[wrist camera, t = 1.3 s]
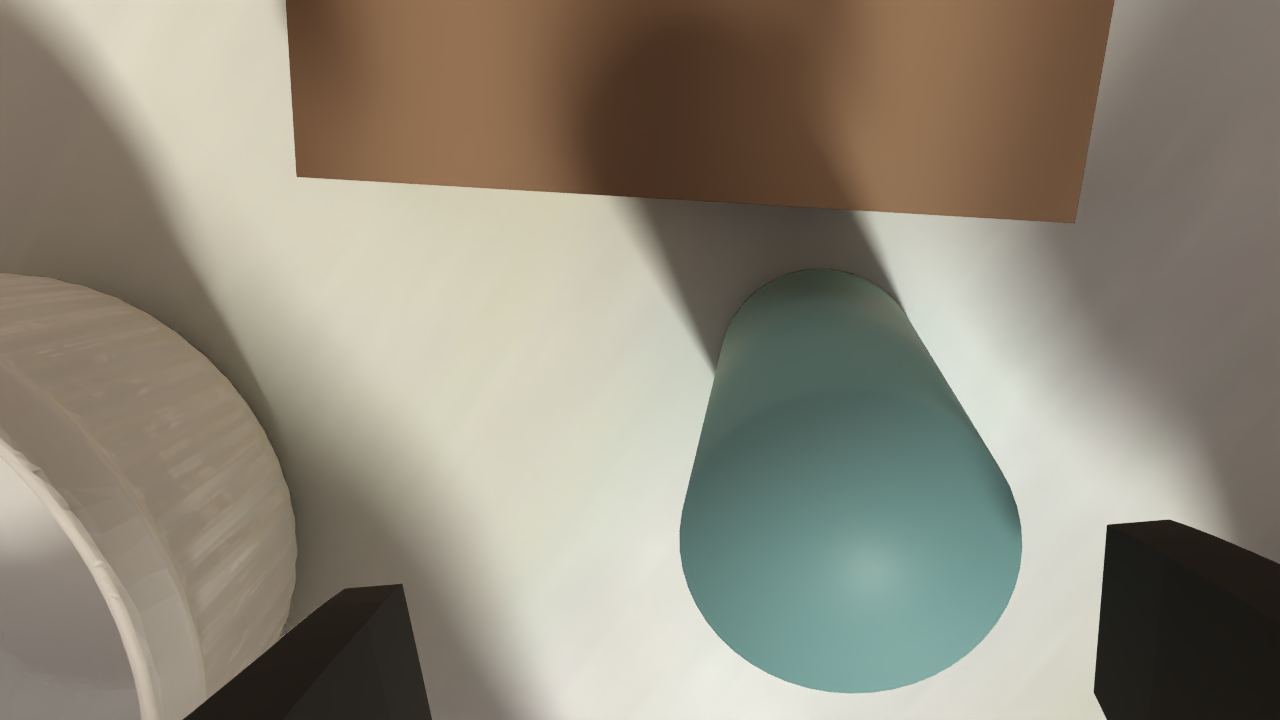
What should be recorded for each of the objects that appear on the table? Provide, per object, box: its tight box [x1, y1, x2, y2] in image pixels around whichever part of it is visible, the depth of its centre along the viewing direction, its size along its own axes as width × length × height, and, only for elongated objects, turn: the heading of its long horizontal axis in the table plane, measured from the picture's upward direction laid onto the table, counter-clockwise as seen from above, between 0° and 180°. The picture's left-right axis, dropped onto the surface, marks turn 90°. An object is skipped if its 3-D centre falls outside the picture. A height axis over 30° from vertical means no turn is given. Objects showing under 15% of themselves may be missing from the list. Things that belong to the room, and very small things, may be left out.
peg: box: [680, 269, 1022, 693], centre depth 15 cm, size 4×4×8 cm
